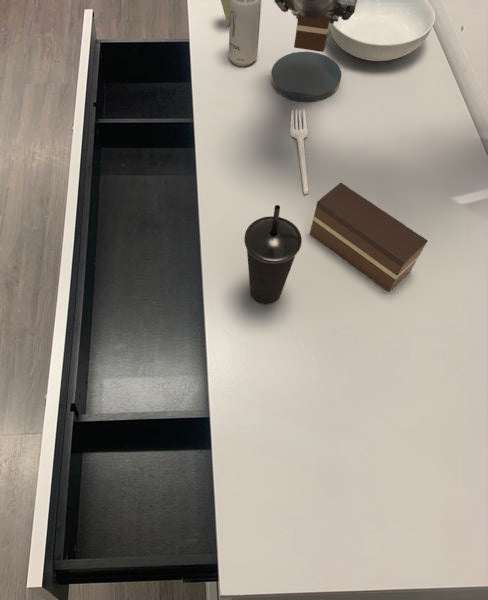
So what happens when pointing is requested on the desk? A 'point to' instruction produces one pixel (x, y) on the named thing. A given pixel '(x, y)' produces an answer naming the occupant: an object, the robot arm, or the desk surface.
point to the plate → (306, 76)
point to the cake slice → (312, 33)
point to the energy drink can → (244, 31)
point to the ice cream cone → (226, 10)
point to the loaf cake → (366, 236)
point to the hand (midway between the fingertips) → (316, 15)
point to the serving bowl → (384, 28)
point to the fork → (300, 143)
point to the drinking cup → (270, 255)
